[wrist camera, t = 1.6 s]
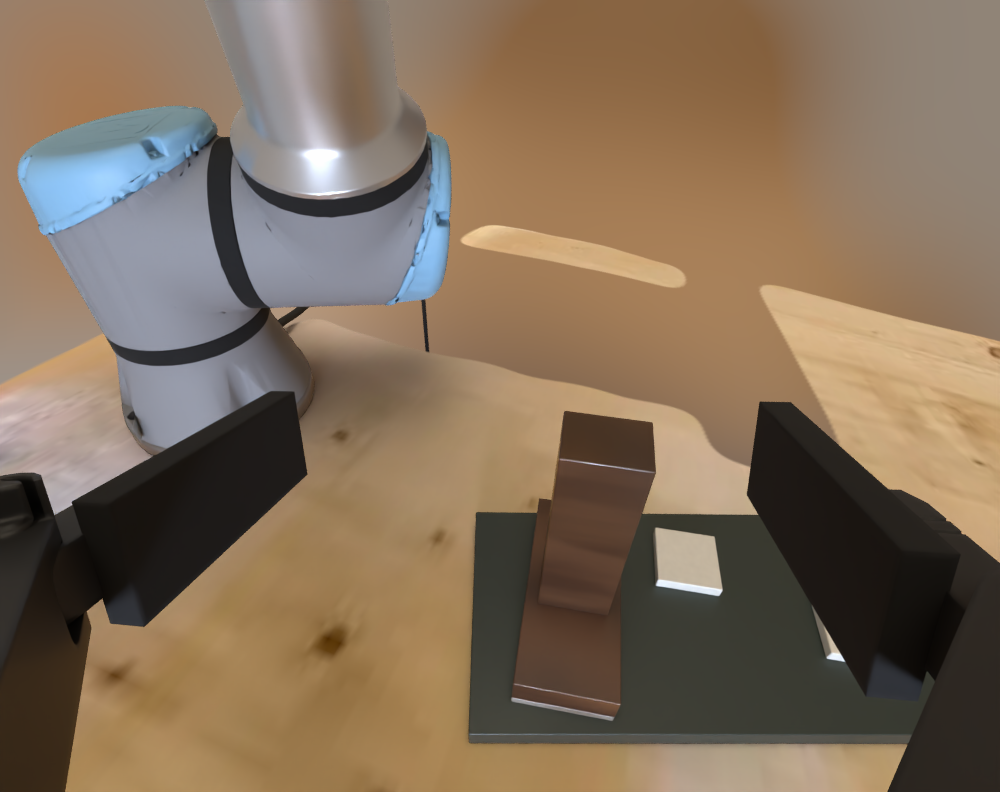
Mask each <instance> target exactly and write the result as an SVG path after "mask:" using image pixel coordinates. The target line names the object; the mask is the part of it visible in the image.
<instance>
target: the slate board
mask: <svg viewBox="0 0 1000 792" xmlns="http://www.w3.org/2000/svg"><path fill="white" fill-rule="evenodd" d="M536 518H537V513H492V512H477V513H476V531H475V560H474V589H473V619H472V648H471V677H470V707H469V743H835V744H908V743H909V741H910V738H911V736H912V734H913V731H914V729H915V727H916V724H917V722H918V720H919V718H920V715H921V713H922V711H923V708H924V706H925V704H926V701H927V699H928V697H929V694H930V692H931V690H932V687H933V685H934V683H935V681H934V679H933V678H932V677H931V675H930V674H929V673H928V671H927V672H926V676H925V679H924V683H923V686H922V689H921V693H920V696H919V700H918V702H917V701H907V700H896V699H886V698H876V697H866V696H865V695H864V693H863V691H862V689H861V688H860V686H859V684H858V683H857V681H856V679H855V678H854V676H853V674H852V672H851V671H850V669H849V667H848V666H847V664H846V662H843V661H838V660H832V659H827V658H826V655H825V652H824V648H823V644H822V641H821V637H820V634H819V630H818V627H817V623H816V619H815V616H814V612H813V609H812V605H811V603H810V601H809V599H808V598H807V596H806V594H805V593H804V591H803V589H802V588H801V586H800V584H799V583H798V581H797V579H796V577H795V576H794V574H793V572H792V571H791V569H790V567H789V566H788V564H787V562H786V560H785V559H784V557H783V555H782V554H781V552H780V550H779V549H778V547H777V545H776V543H775V542H774V540H773V538H772V537H771V535H770V533H769V532H768V530H767V528H766V527H765V525H764V523H763V521H762V520H761V518H760V516H759V515H704V514H642V515H641V518H640V521H639V524H638V527H637V530H636V533H635V536H634V539H633V542H632V545H631V548H630V551H629V554H628V557H627V560H626V562H625V565H624V568H623V571H622V574H621V705H620V707H619V709H618V711H617V713H616V715H615V717H614V719H613V721H610V720H604V719H599V718H594V717H589V716H584V715H579V714H574V713H569V712H563V711H558V710H553V709H548V708H543V707H538V706H533V705H528V704H522V703H517V702H512V701H511V698H512V688H513V679H514V672H515V665H516V658H517V651H518V644H519V637H520V630H521V623H522V616H523V609H524V602H525V595H526V588H527V581H528V574H529V567H530V560H531V553H532V546H533V539H534V532H535V525H536ZM655 528H662V529H668V530H675V531H681V532H688V533H694V534H701V535H707V536H714V537H715V543H716V550H717V556H718V563H719V570H720V576H721V583H722V589H723V590H722V592H721V594H720V595H719V596H715V595H709V594H703V593H697V592H691V591H685V590H679V589H673V588H667V587H661V586H656V584H655V565H654V546H653V532H654V530H655Z"/></svg>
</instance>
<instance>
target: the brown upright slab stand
mask: <svg viewBox="0 0 1000 792" xmlns="http://www.w3.org/2000/svg"><path fill="white" fill-rule="evenodd" d="M655 474H656V467H655V451H654V435H653V423H652V422H645V421H637V420H630V419H622V418H614V417H607V416H599V415H592V414H584V413H577V412H569V411H565V412H564V416H563V423H562V430H561V437H560V444H559V451H558V458H557V465H556V472H555V479H554V486H553V493H552V500H547V499H539V504H538V511H537V518H536V525H535V532H534V539H533V546H532V553H531V560H530V567H529V574H528V581H527V588H526V595H525V602H524V609H523V616H522V623H521V630H520V637H519V644H518V651H517V658H516V665H515V672H514V679H513V688H512V698H511V701H512V702H517V703H522V704H528V705H533V706H538V707H543V708H548V709H553V710H558V711H563V712H569V713H574V714H579V715H584V716H589V717H594V718H599V719H604V720H610V721H613V719H614V717H615V715H616V713H617V711H618V709H619V707H620V705H621V574H622V571H623V568H624V565H625V562H626V560H627V557H628V554H629V551H630V548H631V545H632V542H633V539H634V536H635V533H636V530H637V527H638V524H639V521H640V518H641V515H642V512H643V509H644V506H645V503H646V500H647V497H648V494H649V491H650V488H651V485H652V482H653V479H654V477H655Z"/></svg>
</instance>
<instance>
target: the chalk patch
mask: <svg viewBox="0 0 1000 792" xmlns="http://www.w3.org/2000/svg"><path fill="white" fill-rule="evenodd" d="M653 546H654V565H655V584H656V586H661V587H667V588H673V589H679V590H685V591H691V592H697V593H703V594H709V595H715V596H719V595H720V594H721V592H722V590H723V589H722V583H721V576H720V570H719V563H718V556H717V550H716V543H715V537H714V536H707V535H701V534H694V533H688V532H681V531H675V530H668V529H662V528H655V530H654V532H653Z"/></svg>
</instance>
